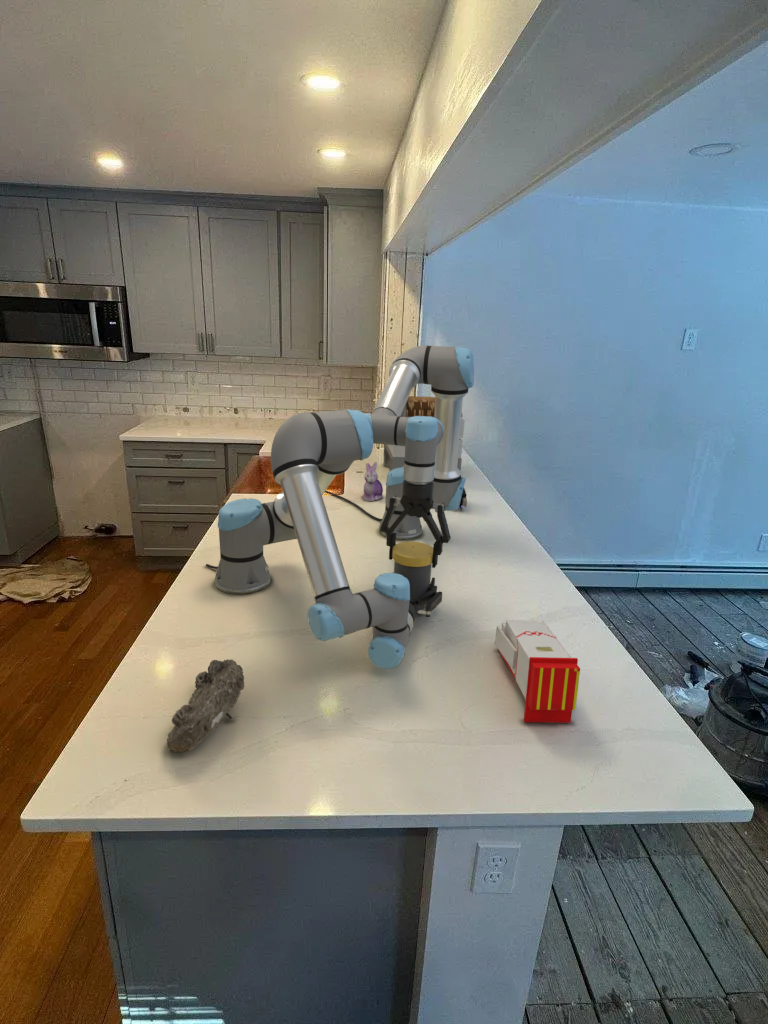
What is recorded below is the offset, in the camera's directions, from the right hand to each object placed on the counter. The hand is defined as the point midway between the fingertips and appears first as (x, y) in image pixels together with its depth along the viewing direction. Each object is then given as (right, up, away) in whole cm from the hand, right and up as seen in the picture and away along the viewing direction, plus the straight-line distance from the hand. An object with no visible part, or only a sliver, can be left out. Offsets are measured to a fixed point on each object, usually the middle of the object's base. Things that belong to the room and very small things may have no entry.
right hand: (413, 561), depth 147 cm
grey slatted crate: (+10, +32, +128) cm, 132 cm away
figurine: (-12, +19, +89) cm, 92 cm away
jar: (-1, -12, +4) cm, 13 cm away
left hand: (+1, -5, +6) cm, 8 cm away
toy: (+24, -24, -24) cm, 41 cm away
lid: (0, +3, -1) cm, 3 cm away
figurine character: (+22, +15, +84) cm, 88 cm away
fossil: (-40, -26, -39) cm, 62 cm away
